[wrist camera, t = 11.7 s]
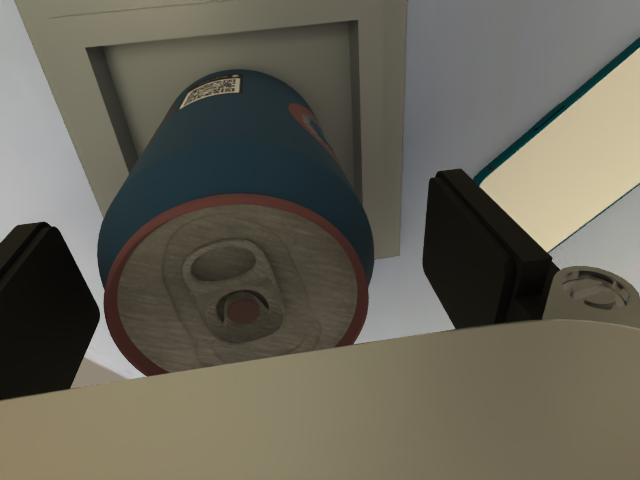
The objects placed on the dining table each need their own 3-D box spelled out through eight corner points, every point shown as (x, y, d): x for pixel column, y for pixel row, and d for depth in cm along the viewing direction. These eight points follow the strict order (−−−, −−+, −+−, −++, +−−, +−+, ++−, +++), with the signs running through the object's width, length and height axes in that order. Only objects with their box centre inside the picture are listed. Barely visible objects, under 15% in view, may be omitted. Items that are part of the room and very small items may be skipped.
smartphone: (736, -55, 19) (460, 182, 23) (757, -56, 18) (468, 189, 23) (766, 73, 23) (524, 258, 27) (785, 76, 22) (532, 266, 26)
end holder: (402, -61, 17) (425, -68, 15) (395, 248, 25) (409, 273, 23) (13, -28, 15) (-26, -30, 13) (138, 286, 23) (127, 317, 21)
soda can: (331, 189, 21) (410, 375, 11) (200, 225, 21) (158, 445, 11) (297, 44, 17) (369, 125, 7) (139, 88, 17) (-12, 229, 7)
